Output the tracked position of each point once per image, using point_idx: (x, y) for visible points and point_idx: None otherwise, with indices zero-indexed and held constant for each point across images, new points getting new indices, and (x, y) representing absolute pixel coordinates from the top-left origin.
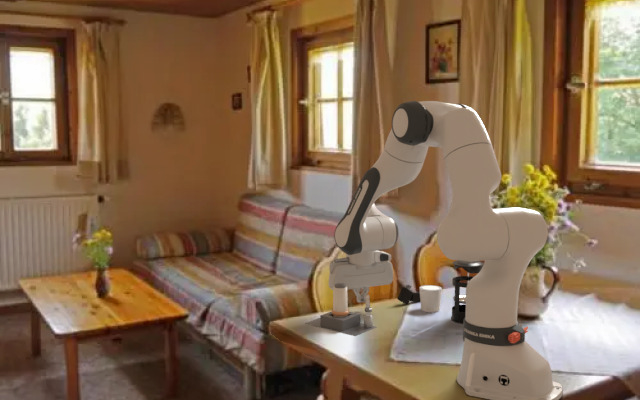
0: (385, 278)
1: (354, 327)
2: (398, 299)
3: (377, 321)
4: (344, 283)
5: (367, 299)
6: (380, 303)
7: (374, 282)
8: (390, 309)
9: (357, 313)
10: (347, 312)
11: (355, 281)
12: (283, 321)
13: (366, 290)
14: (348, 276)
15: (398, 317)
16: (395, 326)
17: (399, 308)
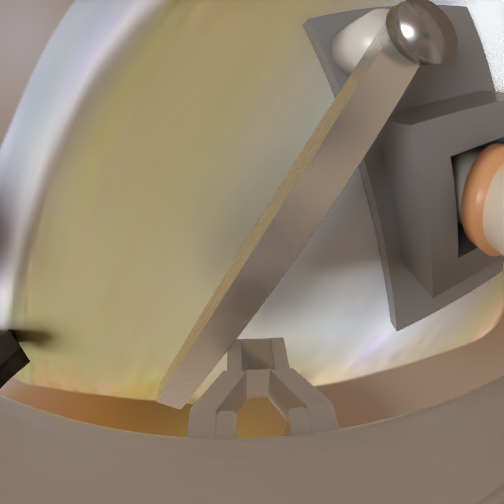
0: (7, 450)
1: (425, 96)
2: (26, 358)
3: (198, 178)
4: (490, 434)
5: (213, 345)
6: (93, 384)
7: (123, 464)
8: (67, 320)
9: (417, 151)
10: (502, 149)
11: (394, 485)
12: (482, 331)
13: (220, 411)
14: (480, 501)
15: (60, 199)
16: (150, 44)
17: (35, 313)
